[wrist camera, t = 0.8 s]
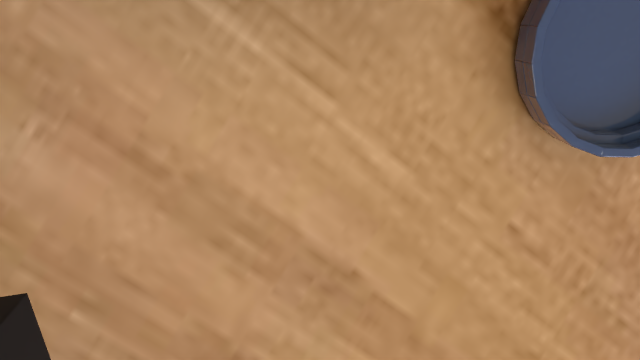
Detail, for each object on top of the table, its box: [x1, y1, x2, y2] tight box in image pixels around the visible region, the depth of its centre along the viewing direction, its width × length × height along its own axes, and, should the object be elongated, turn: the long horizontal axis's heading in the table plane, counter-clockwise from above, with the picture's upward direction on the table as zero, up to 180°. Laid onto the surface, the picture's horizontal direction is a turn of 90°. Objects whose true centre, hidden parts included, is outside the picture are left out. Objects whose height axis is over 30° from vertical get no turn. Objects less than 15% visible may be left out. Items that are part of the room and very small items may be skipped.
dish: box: [515, 0, 640, 157], centre depth 31 cm, size 13×13×3 cm
